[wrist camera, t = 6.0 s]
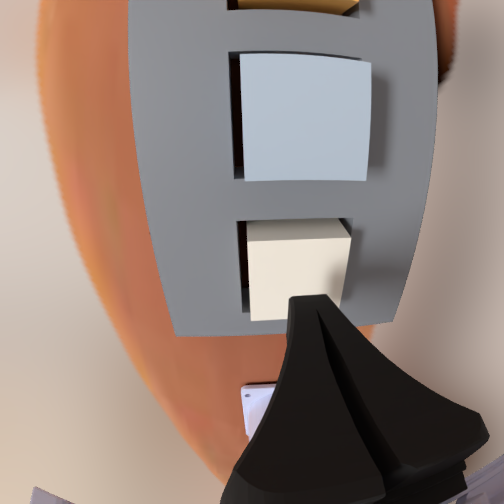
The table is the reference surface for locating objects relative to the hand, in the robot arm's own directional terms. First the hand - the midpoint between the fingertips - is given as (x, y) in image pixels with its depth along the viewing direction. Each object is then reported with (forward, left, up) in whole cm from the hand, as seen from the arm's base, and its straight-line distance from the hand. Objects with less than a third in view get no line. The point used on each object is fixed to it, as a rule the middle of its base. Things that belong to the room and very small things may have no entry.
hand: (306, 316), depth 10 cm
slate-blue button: (+7, 0, -4) cm, 8 cm away
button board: (+7, 0, -5) cm, 8 cm away
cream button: (0, 0, -4) cm, 4 cm away
